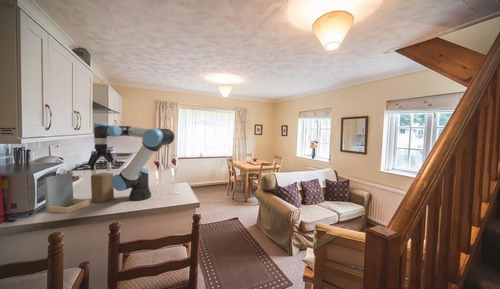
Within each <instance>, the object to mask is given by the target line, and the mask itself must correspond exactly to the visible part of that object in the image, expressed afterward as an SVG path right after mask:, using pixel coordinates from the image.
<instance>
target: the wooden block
mask: <svg viewBox="0 0 500 289" xmlns="http://www.w3.org/2000/svg"><path fill="white" fill-rule="evenodd" d="M113 176H114V174H113V173H112V172H104V171H103V172H99V173H96V174H95V175H93V174H91V175H90V184H91V186H90V189H91V190H90V191H91V201H92V203H93V202H95V203H106V202H108V201H111V200H113V199H114V196H115V195H114V194H115V193H114V192H115V188H114V187H113V185H112V177H113Z"/></svg>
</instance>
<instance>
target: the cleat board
mask: <svg viewBox="0 0 500 289" xmlns="http://www.w3.org/2000/svg"><path fill="white" fill-rule="evenodd" d="M43 182H44V184H43V185H44V196H45V197H44V198H45V199H44V200H45V212H48V213H61V214H69V213H71V212H75V211H77V210H79V209H81V208H84V207H87V206H89V205H91V199H89V198H88V199H87V198H74V184H73V172H70V171H69V172H65V173H61V174H60V173H59V174H54V175H52V176H46V177H44V179H43ZM72 204H73V205H72ZM68 205H70V206H68ZM67 206H68V207H67Z"/></svg>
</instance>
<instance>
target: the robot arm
mask: <svg viewBox="0 0 500 289" xmlns="http://www.w3.org/2000/svg"><path fill="white" fill-rule="evenodd" d="M122 136H123V137H134V138H138V139H139V138H140V139H141V140H142V141H141V142H142V143H141V144H142V145H141V146H140V148H139V149H138V151H137V153H136V154H135V155H134V156H133V157H132V159H131V161H130V162H129V163H128V165H127V166H126V167H124V168H122V169H121V170H120V172H119V173H118V174H115V175H113V177H112V185H113V187H114V190H116V191H117V192H122V191H125V190H128V189H131V190H130V193H129V197H128V198H129V199H128V200H129V201H144V200H148V199H150V198H152V192H151V190H150V187H149V185H150V182H149V180H150V179H149V169H148V168H144V167H145V166H146V164H147V163H148V161H149V160H150V159H151V158H152V156H153V155H154V153H155V152H159V151H160V150H161V148H162V147H163V146H168V145H171V144H172V143H174V140H175V133H174V132H173V131H172V129H170V128H154V127H153V128H145V127H136V126H131V125H107V123H106V122H94V124H93V138H94V149H95V151H94V150H92V151H91V154H90V157H89V159H88V162H87V165H88V166H90V170H91V175H95V174H97V169H96V166H97V165H96V164H97V162H98V160H99V158H102V157H104V158H105V160H106V161H107V162H106V166H107V168H106V170H107V171H112V163H113V162H114V161H115V160H114V157H113V156H112V153H111V149H108V137H114V138H115V137H122Z"/></svg>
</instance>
